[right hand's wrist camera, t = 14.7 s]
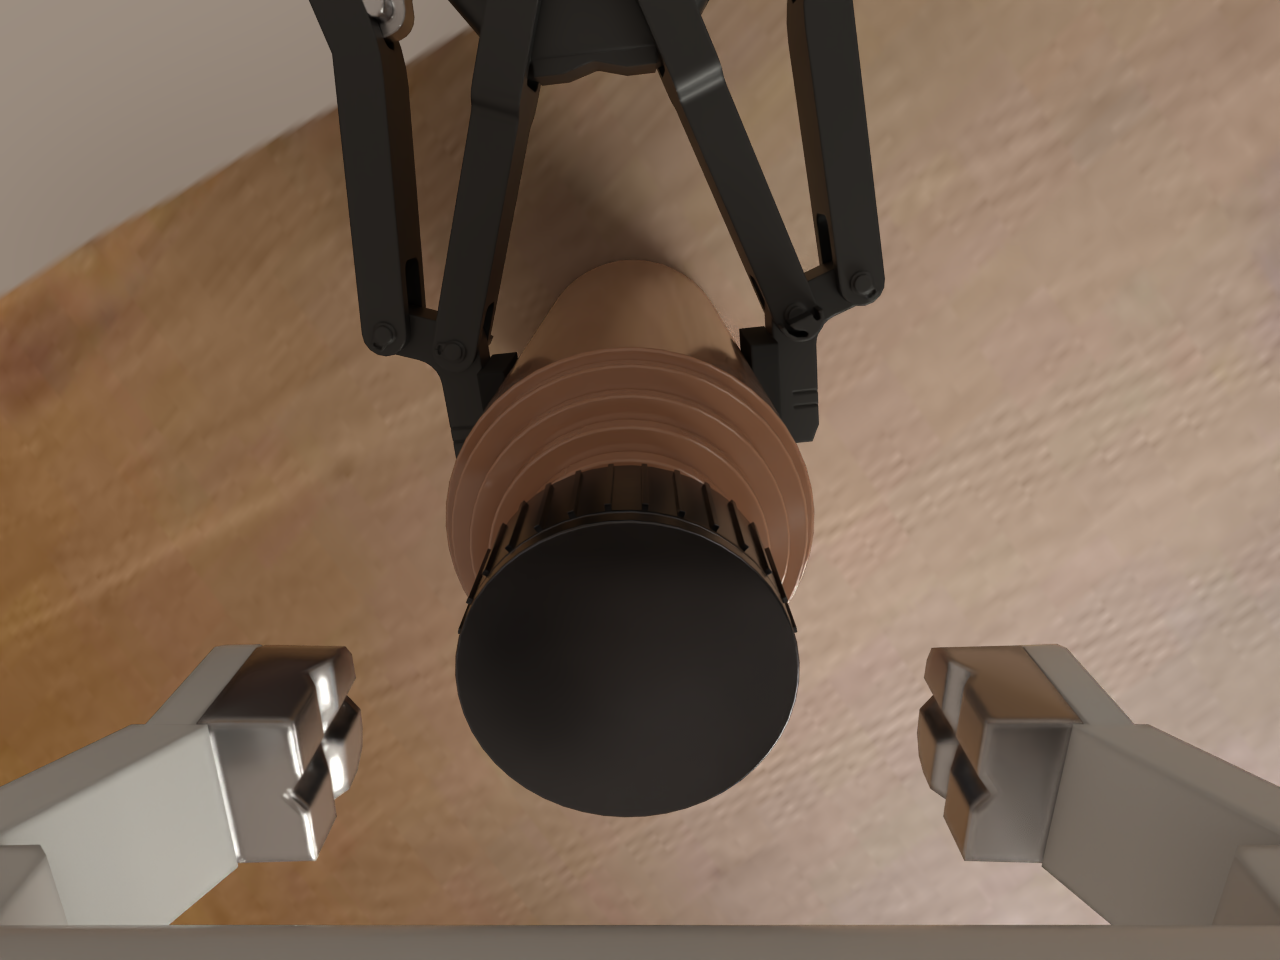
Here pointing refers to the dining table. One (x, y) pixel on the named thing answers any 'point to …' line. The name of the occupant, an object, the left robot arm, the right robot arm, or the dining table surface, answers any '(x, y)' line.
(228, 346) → the dining table surface
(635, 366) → the bottle
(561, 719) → the cap
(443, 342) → the left robot arm
